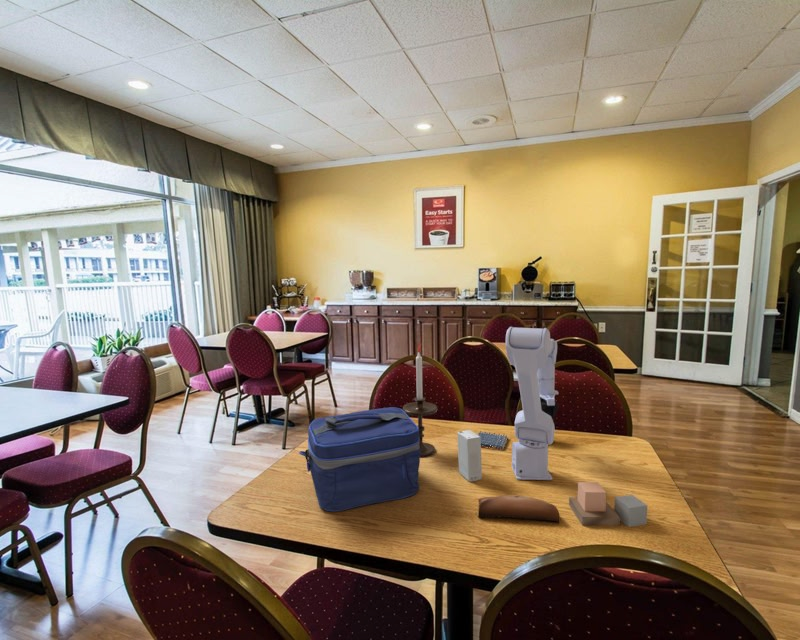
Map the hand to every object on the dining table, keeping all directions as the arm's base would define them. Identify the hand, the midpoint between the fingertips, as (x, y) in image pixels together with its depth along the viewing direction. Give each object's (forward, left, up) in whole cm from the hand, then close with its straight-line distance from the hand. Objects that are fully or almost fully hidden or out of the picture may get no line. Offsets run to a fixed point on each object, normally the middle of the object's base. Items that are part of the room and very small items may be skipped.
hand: (544, 420), depth 125 cm
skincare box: (-24, -15, -11) cm, 31 cm away
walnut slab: (+2, -33, -11) cm, 35 cm away
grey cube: (+10, -34, -11) cm, 37 cm away
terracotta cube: (+2, -33, -8) cm, 34 cm away
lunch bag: (-53, -22, -11) cm, 58 cm away
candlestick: (-38, +1, -11) cm, 40 cm away
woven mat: (-15, +8, -11) cm, 20 cm away
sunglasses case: (-15, -32, -11) cm, 37 cm away
